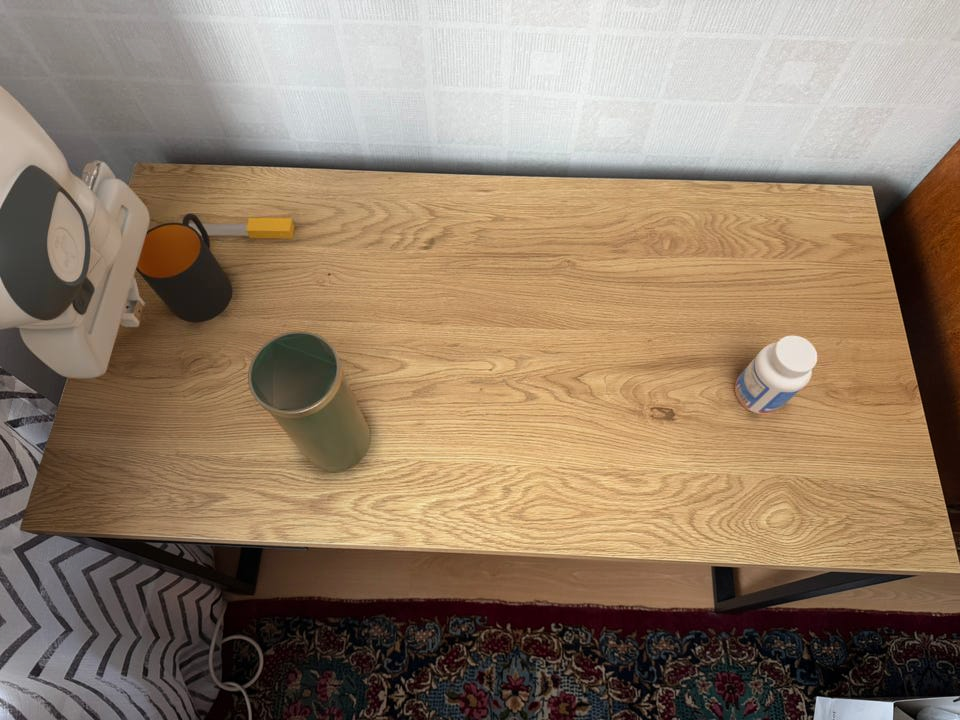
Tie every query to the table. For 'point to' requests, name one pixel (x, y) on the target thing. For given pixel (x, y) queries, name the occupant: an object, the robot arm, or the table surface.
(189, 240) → the mug
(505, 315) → the table surface
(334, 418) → the canister
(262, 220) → the knife
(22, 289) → the robot arm
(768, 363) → the pill bottle
